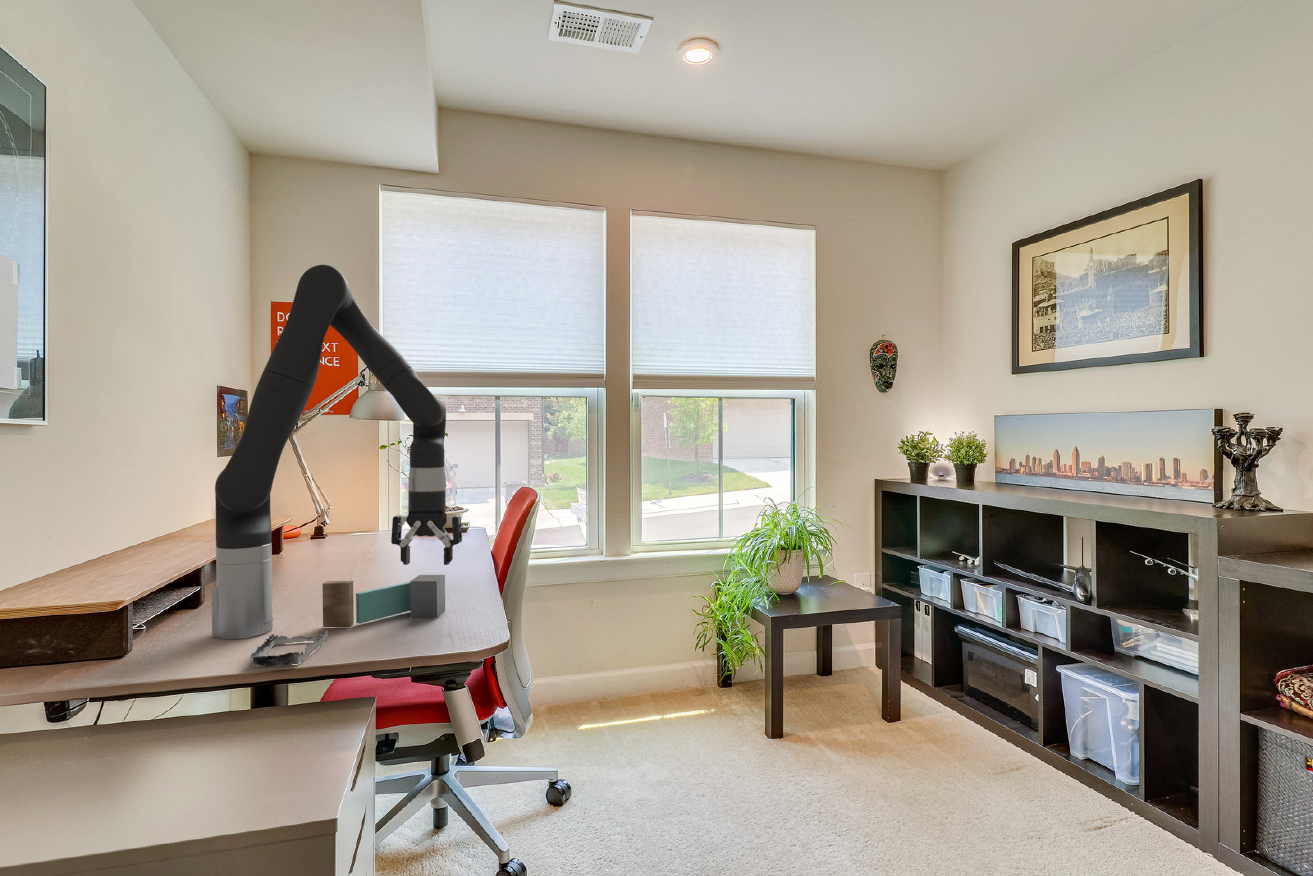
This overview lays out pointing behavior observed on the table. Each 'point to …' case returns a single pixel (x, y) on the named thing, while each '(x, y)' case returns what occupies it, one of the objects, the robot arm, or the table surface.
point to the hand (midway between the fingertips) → (426, 564)
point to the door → (382, 602)
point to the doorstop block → (427, 596)
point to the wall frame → (338, 604)
